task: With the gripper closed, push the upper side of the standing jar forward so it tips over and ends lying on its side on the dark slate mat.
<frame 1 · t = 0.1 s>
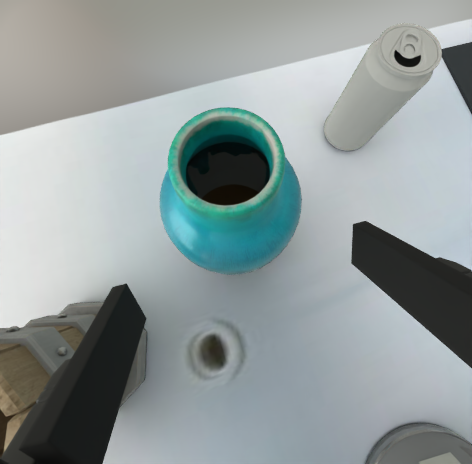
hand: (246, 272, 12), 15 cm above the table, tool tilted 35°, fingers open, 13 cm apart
beverage can: (343, 134, 31), on the table
tankard: (93, 388, 25), on the table
vase: (234, 232, 28), on the table
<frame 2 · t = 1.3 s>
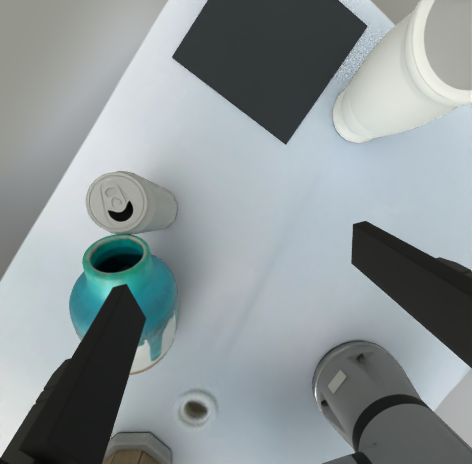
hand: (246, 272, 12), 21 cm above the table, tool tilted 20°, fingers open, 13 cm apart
jar: (357, 115, 32), on the table
beverage can: (157, 208, 32), on the table, touching vase
vase: (140, 343, 31), point 3 cm above the table, touching beverage can
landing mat: (271, 42, 30), on the table
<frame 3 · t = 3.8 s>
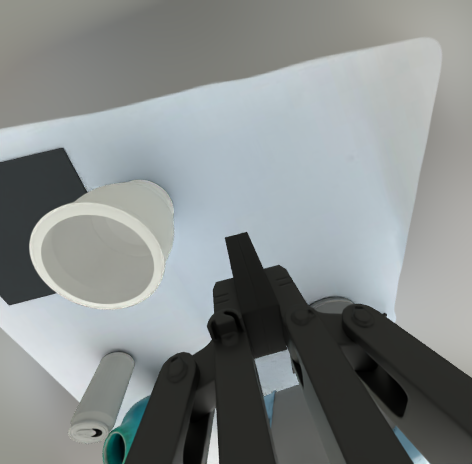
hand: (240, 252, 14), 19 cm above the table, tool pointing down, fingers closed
jar: (145, 207, 32), on the table
beverage can: (119, 359, 43), on the table, touching vase
vase: (189, 407, 49), point 3 cm above the table, touching beverage can
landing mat: (33, 236, 31), on the table
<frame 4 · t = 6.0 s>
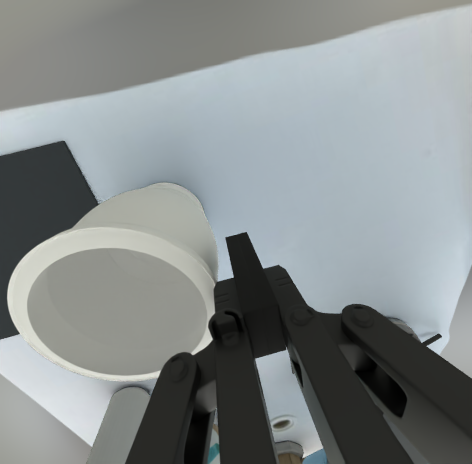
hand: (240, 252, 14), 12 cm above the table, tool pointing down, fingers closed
jar: (169, 218, 25), on the table, touching gripper
beverage can: (132, 394, 37), on the table, touching vase
tankard: (289, 450, 55), on the table
vase: (212, 445, 42), point 3 cm above the table, touching beverage can
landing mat: (27, 255, 24), on the table
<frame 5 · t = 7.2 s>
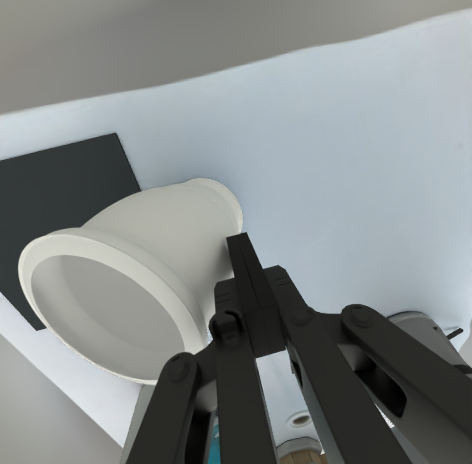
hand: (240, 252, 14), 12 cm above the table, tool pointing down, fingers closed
jar: (207, 214, 24), point 1 cm above the table, touching gripper
beverage can: (160, 387, 37), on the table, touching vase
tankard: (307, 447, 55), on the table
vase: (236, 439, 42), point 3 cm above the table, touching beverage can
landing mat: (70, 246, 25), on the table
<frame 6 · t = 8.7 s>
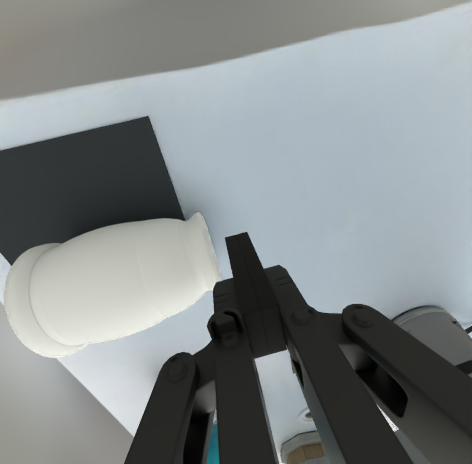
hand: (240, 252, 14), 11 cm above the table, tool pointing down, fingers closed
jar: (215, 250, 21), point 5 cm above the table, touching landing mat
tankard: (317, 440, 55), on the table
vase: (250, 432, 42), point 3 cm above the table, touching beverage can
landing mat: (96, 235, 24), on the table
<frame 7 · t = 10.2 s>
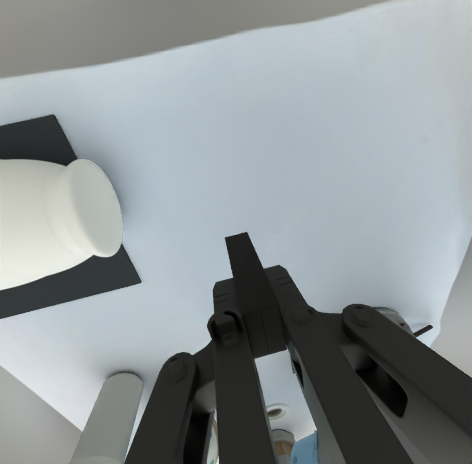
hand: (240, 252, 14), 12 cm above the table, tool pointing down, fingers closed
jar: (107, 208, 19), point 5 cm above the table, touching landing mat
beverage can: (125, 380, 37), on the table, touching vase
tankard: (281, 439, 56), on the table
vase: (205, 431, 42), point 3 cm above the table, touching beverage can
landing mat: (16, 235, 23), on the table
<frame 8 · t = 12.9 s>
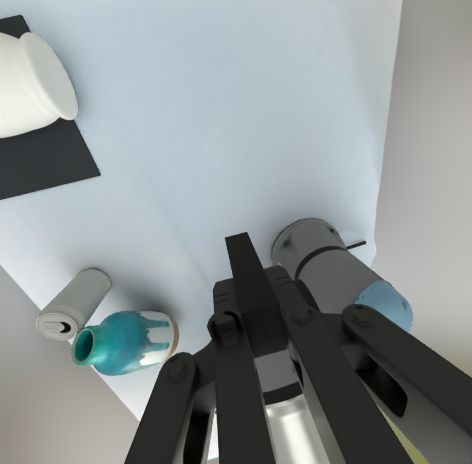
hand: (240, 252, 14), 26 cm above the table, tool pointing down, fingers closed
jar: (59, 79, 26), point 5 cm above the table, touching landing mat
beverage can: (95, 279, 43), on the table, touching vase
vase: (168, 336, 49), point 3 cm above the table, touching beverage can
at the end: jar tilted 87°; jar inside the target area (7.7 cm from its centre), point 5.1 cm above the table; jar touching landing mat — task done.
